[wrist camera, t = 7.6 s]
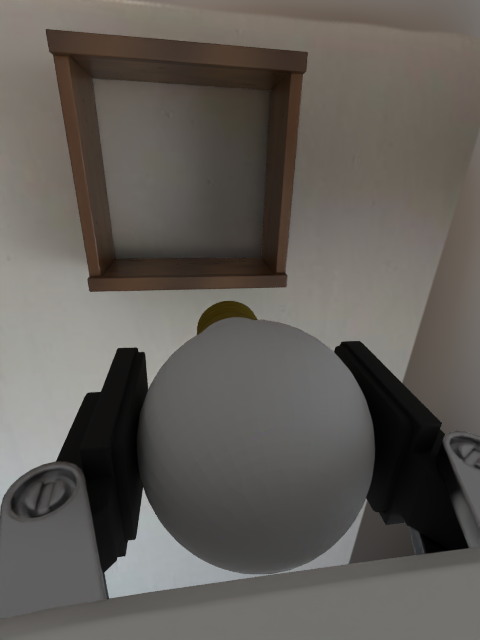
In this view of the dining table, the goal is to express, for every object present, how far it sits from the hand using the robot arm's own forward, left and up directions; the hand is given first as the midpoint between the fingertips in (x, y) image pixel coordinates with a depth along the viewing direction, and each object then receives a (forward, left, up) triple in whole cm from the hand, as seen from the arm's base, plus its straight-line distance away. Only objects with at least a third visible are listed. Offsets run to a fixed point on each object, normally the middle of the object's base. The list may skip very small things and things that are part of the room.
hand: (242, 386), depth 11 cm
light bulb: (0, 0, -5) cm, 5 cm away
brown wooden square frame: (-1, -6, -21) cm, 22 cm away
